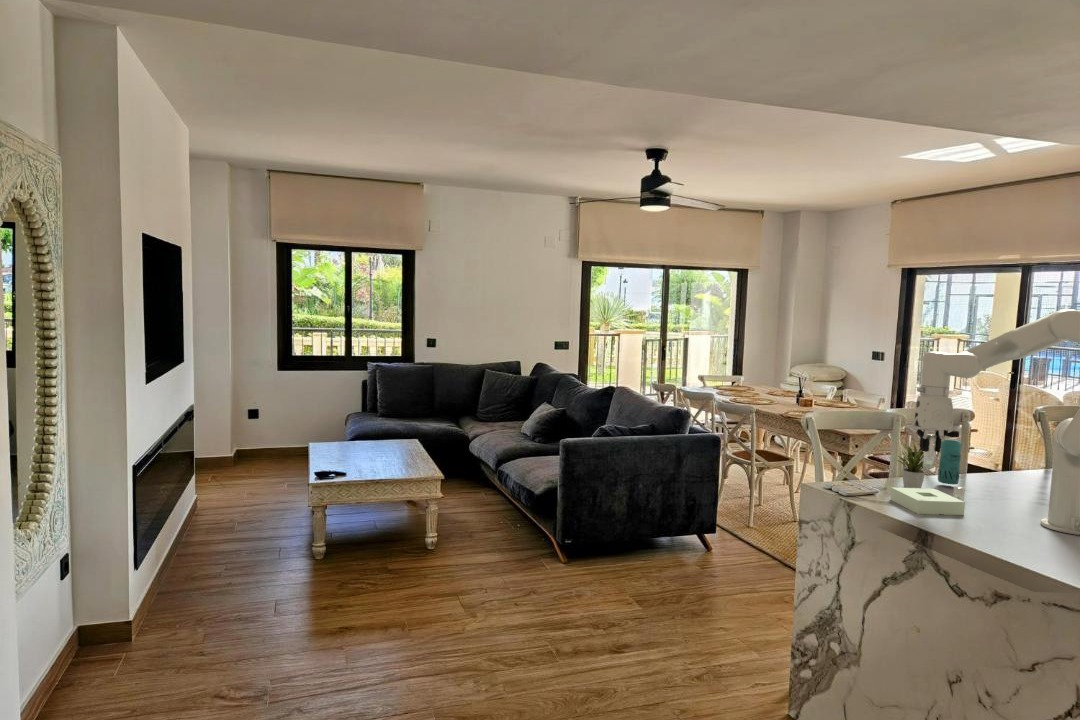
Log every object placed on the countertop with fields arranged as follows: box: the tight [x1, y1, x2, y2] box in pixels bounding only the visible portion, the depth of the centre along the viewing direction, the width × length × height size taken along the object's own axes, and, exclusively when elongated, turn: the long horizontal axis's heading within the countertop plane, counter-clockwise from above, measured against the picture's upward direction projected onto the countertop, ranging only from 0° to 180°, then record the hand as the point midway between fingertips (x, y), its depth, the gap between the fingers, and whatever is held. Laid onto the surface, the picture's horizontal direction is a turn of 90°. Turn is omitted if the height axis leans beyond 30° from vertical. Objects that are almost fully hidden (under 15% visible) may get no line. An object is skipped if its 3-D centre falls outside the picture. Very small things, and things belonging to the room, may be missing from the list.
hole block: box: [890, 487, 966, 516], centre depth 205 cm, size 15×14×4 cm
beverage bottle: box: [937, 430, 963, 486], centre depth 232 cm, size 6×7×20 cm
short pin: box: [952, 485, 966, 502], centre depth 211 cm, size 3×3×5 cm
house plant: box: [895, 441, 937, 488], centre depth 227 cm, size 14×14×16 cm
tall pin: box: [922, 433, 937, 469], centre depth 204 cm, size 3×3×10 cm
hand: (929, 450), depth 204 cm, fingers closed on tall pin, 3 cm apart
